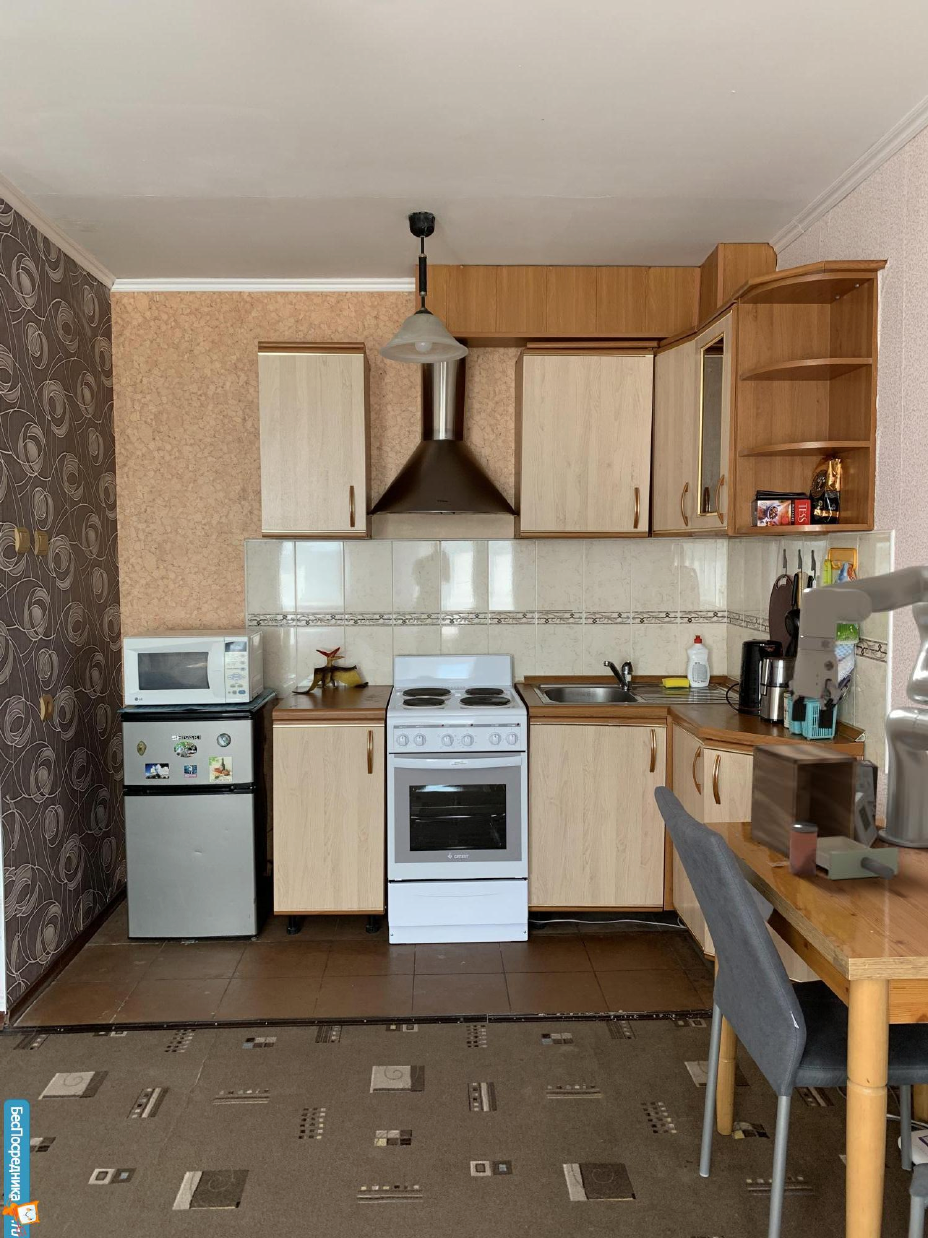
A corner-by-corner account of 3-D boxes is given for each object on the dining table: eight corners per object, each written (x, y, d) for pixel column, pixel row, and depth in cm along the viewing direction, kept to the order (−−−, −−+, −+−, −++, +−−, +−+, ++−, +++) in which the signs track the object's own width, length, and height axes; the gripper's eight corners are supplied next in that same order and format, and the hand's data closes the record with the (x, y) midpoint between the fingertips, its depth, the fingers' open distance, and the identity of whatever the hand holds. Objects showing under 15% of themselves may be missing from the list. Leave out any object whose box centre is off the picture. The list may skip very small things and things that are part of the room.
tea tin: (805, 868, 196) (807, 821, 196) (821, 876, 191) (823, 828, 190) (783, 869, 195) (785, 822, 194) (798, 878, 190) (800, 829, 189)
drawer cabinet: (809, 834, 222) (813, 743, 220) (853, 854, 206) (857, 757, 205) (750, 838, 218) (753, 745, 217) (789, 858, 202) (793, 759, 201)
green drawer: (847, 851, 208) (848, 827, 207) (921, 886, 185) (922, 859, 185) (786, 855, 204) (787, 831, 204) (854, 891, 182) (855, 864, 181)
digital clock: (865, 854, 206) (867, 807, 205) (825, 846, 212) (827, 800, 211) (890, 840, 218) (892, 796, 217) (851, 832, 224) (853, 789, 223)
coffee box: (876, 832, 224) (879, 766, 224) (848, 830, 226) (850, 765, 225) (867, 822, 233) (870, 759, 233) (840, 820, 235) (843, 757, 234)
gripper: (857, 649, 190) (852, 731, 191) (808, 643, 207) (803, 719, 208) (825, 647, 189) (819, 731, 189) (778, 642, 206) (773, 718, 206)
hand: (811, 724), depth 199 cm, fingers open, 9 cm apart
